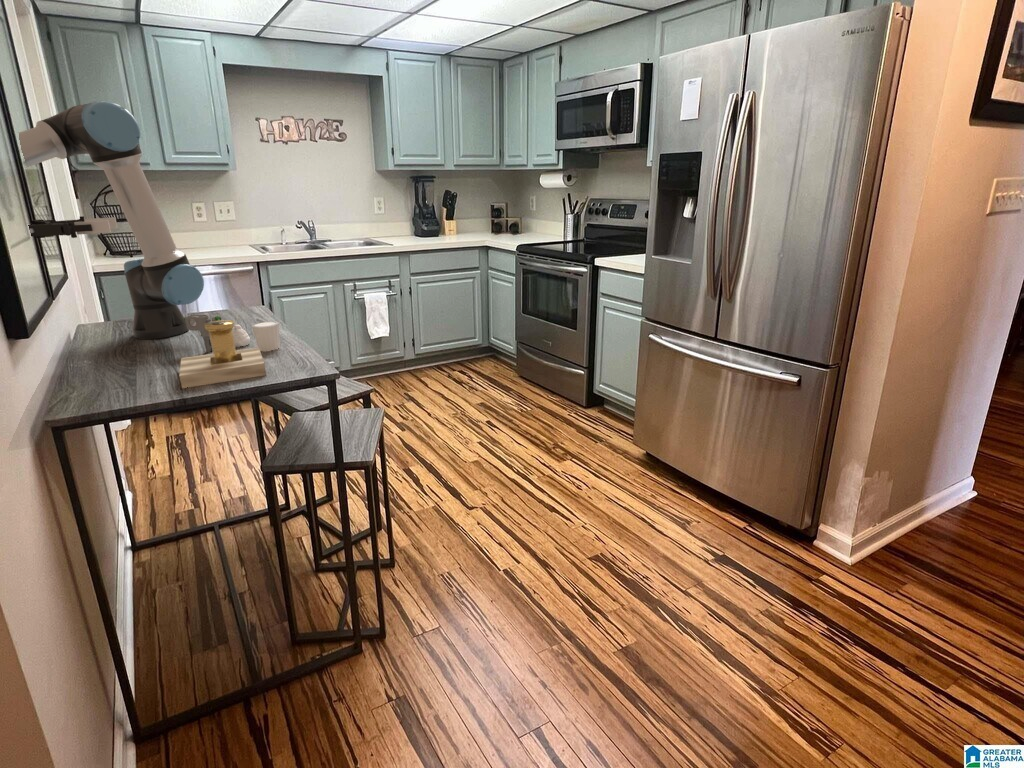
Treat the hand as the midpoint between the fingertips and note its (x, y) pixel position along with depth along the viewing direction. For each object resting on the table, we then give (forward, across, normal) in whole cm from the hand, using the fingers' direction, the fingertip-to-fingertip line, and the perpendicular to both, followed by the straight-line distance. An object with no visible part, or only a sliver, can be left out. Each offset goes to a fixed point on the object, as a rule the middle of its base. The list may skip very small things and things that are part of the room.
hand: (113, 224), depth 144 cm
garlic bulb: (+23, -6, -35) cm, 42 cm away
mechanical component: (+15, -3, -35) cm, 38 cm away
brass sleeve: (+19, +19, -35) cm, 44 cm away
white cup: (+30, +3, -35) cm, 46 cm away
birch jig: (+18, +20, -35) cm, 44 cm away
